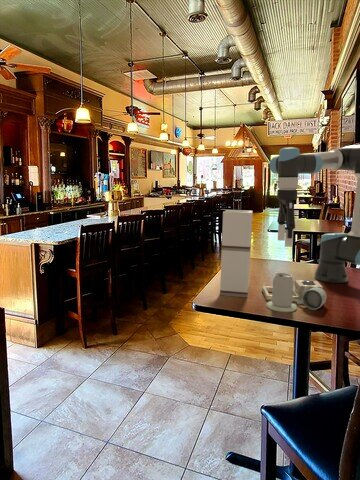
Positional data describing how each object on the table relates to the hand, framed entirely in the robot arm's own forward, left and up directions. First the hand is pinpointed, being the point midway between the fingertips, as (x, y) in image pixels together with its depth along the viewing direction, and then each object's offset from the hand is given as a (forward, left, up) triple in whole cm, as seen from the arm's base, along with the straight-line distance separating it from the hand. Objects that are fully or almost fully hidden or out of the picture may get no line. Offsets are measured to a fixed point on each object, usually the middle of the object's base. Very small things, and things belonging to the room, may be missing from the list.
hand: (284, 243), depth 144 cm
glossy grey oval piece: (-12, -5, -21) cm, 25 cm away
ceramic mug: (-10, +6, -24) cm, 26 cm away
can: (+1, +9, -23) cm, 24 cm away
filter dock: (-5, -5, -23) cm, 24 cm away
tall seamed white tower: (+18, -7, -24) cm, 31 cm away
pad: (+1, +9, -23) cm, 25 cm away
